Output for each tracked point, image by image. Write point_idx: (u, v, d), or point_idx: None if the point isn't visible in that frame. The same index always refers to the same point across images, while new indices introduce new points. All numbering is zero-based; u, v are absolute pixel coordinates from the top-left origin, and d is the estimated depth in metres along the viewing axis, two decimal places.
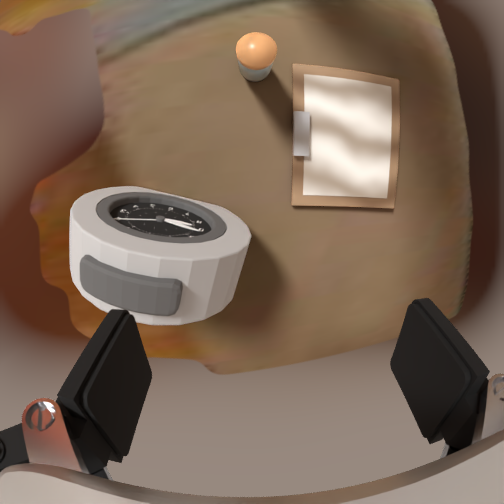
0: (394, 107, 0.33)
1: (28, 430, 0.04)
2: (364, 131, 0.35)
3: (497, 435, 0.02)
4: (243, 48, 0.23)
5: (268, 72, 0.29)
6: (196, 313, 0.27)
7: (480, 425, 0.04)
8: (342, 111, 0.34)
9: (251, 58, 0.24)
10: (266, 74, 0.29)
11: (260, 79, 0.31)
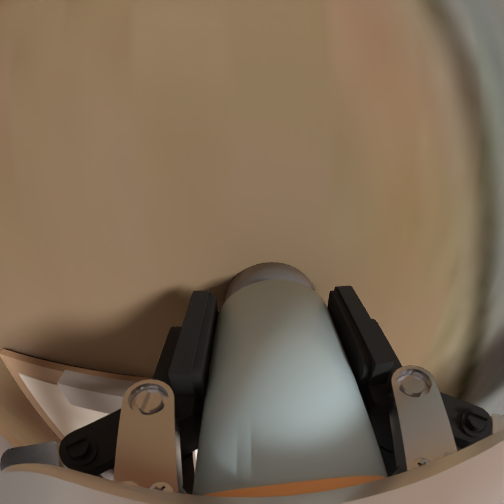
0: None
1: (137, 416, 0.05)
2: None
3: (497, 435, 0.02)
4: None
5: None
6: None
7: (397, 431, 0.04)
8: None
9: None
10: None
11: None
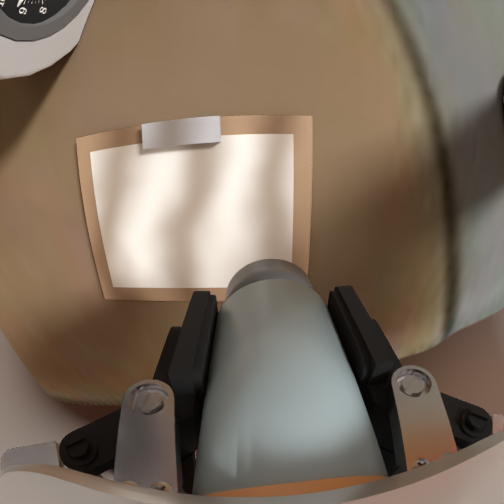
0: None
1: (137, 415, 0.05)
2: (203, 242, 0.24)
3: (497, 435, 0.02)
4: None
5: None
6: None
7: (397, 431, 0.04)
8: (230, 201, 0.22)
9: None
10: None
11: None
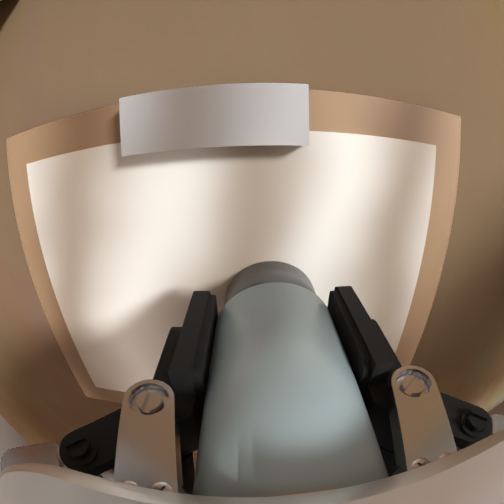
0: None
1: (137, 416, 0.05)
2: None
3: (497, 435, 0.02)
4: None
5: None
6: None
7: (397, 431, 0.04)
8: (314, 272, 0.11)
9: None
10: None
11: None
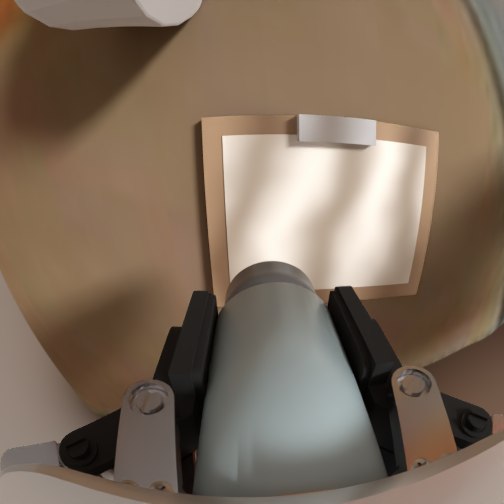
0: (379, 289, 0.25)
1: (137, 415, 0.05)
2: (343, 242, 0.23)
3: (497, 435, 0.02)
4: None
5: None
6: None
7: (397, 431, 0.04)
8: (374, 203, 0.22)
9: None
10: None
11: None
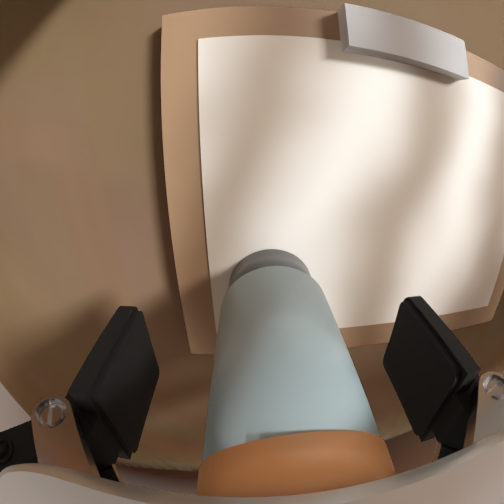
0: (453, 317, 0.14)
1: (38, 427, 0.04)
2: (416, 244, 0.12)
3: (497, 435, 0.02)
4: None
5: None
6: None
7: (472, 424, 0.04)
8: (464, 178, 0.10)
9: None
10: None
11: None
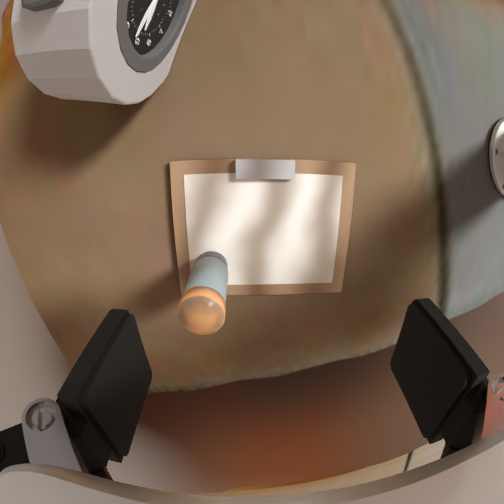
0: (306, 286, 0.34)
1: (28, 430, 0.04)
2: (273, 250, 0.32)
3: (497, 435, 0.02)
4: (200, 303, 0.23)
5: None
6: (22, 40, 0.09)
7: (480, 425, 0.04)
8: (296, 221, 0.31)
9: (187, 310, 0.23)
10: None
11: None
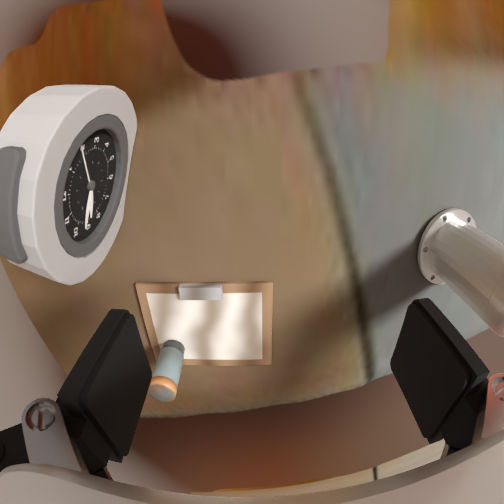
0: (243, 361, 0.45)
1: (28, 430, 0.04)
2: (214, 340, 0.43)
3: (497, 435, 0.02)
4: (159, 387, 0.34)
5: None
6: (11, 260, 0.21)
7: (480, 425, 0.04)
8: (229, 323, 0.42)
9: (153, 390, 0.35)
10: None
11: None
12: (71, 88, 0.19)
